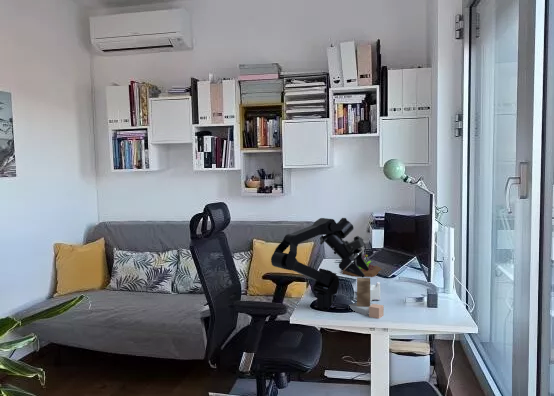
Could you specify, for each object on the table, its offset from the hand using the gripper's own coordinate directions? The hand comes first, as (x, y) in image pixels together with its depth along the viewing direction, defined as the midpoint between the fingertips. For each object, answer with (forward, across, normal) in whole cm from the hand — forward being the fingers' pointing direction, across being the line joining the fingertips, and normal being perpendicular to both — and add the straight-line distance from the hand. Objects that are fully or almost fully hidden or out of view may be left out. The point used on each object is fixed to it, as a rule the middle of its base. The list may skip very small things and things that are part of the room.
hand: (366, 273), depth 185 cm
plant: (+3, +56, +21) cm, 60 cm away
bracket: (+9, +15, +12) cm, 21 cm away
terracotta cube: (+13, -9, +6) cm, 17 cm away
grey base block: (+10, -4, +10) cm, 15 cm away
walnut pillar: (+8, -3, +9) cm, 12 cm away
